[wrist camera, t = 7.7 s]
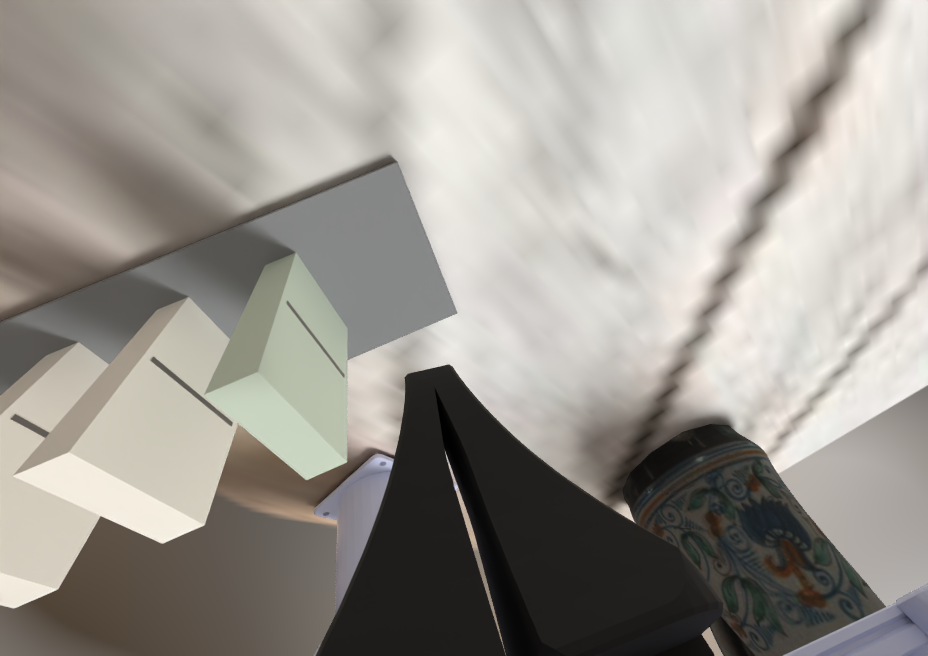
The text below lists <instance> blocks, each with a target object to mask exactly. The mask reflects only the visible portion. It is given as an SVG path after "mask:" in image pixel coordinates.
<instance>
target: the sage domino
mask: <svg viewBox="0 0 928 656" xmlns="http://www.w3.org/2000/svg"><path fill="white" fill-rule="evenodd" d="M347 339H348V328H347V327H346V325H345V324H344V322H343V321H342V320H341V318H340V317H339V315H338V314H337V312H336V311H335V309H334V308H333V306H332V305H331V303H330V302H329V300H328V299H327V297H326V296H325V294H324V293H323V291H322V290H321V288H320V287H319V286H318V284H317V283H316V281H315V280H314V278H313V277H312V275H311V274H310V272H309V271H308V269H307V268H306V266H305V265H304V263H303V262H302V260H301V259H300V257H299V256H298V254H297V253H293V254H291V255H289V256H286V257H284V258H281V259H279V260H277V261H274V262H272V263H269V264H267V265H265V267H264V269H263V271H262V273H261V275H260V277H259V279H258V281H257V284H256V286H255V288H254V290H253V292H252V294H251V296H250V298H249V300H248V303H247V305H246V307H245V309H244V311H243V313H242V315H241V317H240V319H239V322H238V324H237V326H236V328H235V330H234V332H233V334H232V336H231V338H230V341H229V343H228V345H227V347H226V349H225V351H224V353H223V355H222V357H221V360H220V362H219V364H218V366H217V368H216V370H215V372H214V374H213V376H212V379H211V381H210V383H209V385H208V387H207V389H206V391H205V393H204V396H206V397H207V398H208V399H209V400H210V401H212V402H213V403H214V404H215V405H216V406H218V407H219V408H220V409H221V410H223V411H224V412H225V413H226V414H227V415H229V416H230V417H231V418H232V419H233V420H235V421H236V422H237V423H238V424H239V425H241V426H242V427H243V428H244V429H245V430H247V431H248V432H249V433H250V434H251V435H253V436H254V437H255V438H256V439H257V440H259V441H260V442H261V443H262V444H263V445H265V446H266V447H267V448H268V449H269V450H271V451H272V452H273V453H274V454H275V455H277V456H278V457H279V458H280V459H281V460H283V461H284V462H285V463H286V464H287V465H289V466H290V467H291V468H292V469H293V470H295V471H296V472H297V473H298V474H299V475H301V476H302V477H303V478H304V479H306V480H308V479H311V478H313V477H315V476H317V475H320V474H322V473H324V472H326V471H329V470H331V469H333V468H335V467H338V466H340V465H342V464H345V463H347Z"/></svg>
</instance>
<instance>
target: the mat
mask: <svg viewBox="0 0 928 656" xmlns="http://www.w3.org/2000/svg"><path fill="white" fill-rule="evenodd" d="M293 253H297V254H298V256H299V257H300V259H301V260H302V262H303V263H304V265H305V266H306V268H307V269H308V271H309V272H310V274H311V275H312V277H313V278H314V280H315V281H316V283H317V284H318V286H319V287H320V288H321V290H322V291H323V293H324V294H325V296H326V297H327V299H328V300H329V302H330V303H331V305H332V306H333V308H334V309H335V311H336V312H337V314H338V315H339V317H340V318H341V320H342V321H343V322H344V324H345V325H346V327H347V328H348V339H347V360H349V359H351V358H353V357H356V356H358V355H360V354H363V353H365V352H368V351H370V350H372V349H375V348H377V347H379V346H382V345H384V344H386V343H389V342H391V341H393V340H396V339H398V338H400V337H403V336H405V335H407V334H410V333H412V332H414V331H417V330H419V329H422V328H424V327H426V326H429V325H431V324H433V323H436V322H438V321H440V320H443V319H445V318H447V317H450V316H452V315H454V314H457V311H456V308H455V306H454V303H453V301H452V298H451V296H450V293H449V291H448V288H447V286H446V283H445V281H444V278H443V276H442V273H441V271H440V268H439V265H438V263H437V260H436V258H435V255H434V253H433V250H432V248H431V245H430V243H429V240H428V238H427V235H426V233H425V230H424V228H423V225H422V223H421V220H420V218H419V215H418V212H417V210H416V207H415V205H414V202H413V200H412V197H411V195H410V192H409V190H408V187H407V185H406V182H405V180H404V177H403V175H402V172H401V170H400V167H399V165H398V162H397V161H395V162H393V163H390V164H388V165H385V166H383V167H381V168H378V169H376V170H373V171H371V172H368V173H366V174H363V175H361V176H358V177H356V178H353V179H351V180H348V181H346V182H344V183H341V184H339V185H336V186H334V187H331V188H329V189H326V190H324V191H321V192H319V193H316V194H314V195H311V196H309V197H306V198H304V199H302V200H299V201H297V202H294V203H292V204H289V205H287V206H284V207H282V208H279V209H277V210H274V211H272V212H269V213H267V214H265V215H262V216H260V217H257V218H255V219H252V220H250V221H247V222H245V223H242V224H240V225H237V226H235V227H232V228H230V229H228V230H225V231H223V232H220V233H218V234H215V235H213V236H210V237H208V238H205V239H203V240H200V241H198V242H195V243H193V244H190V245H188V246H186V247H183V248H181V249H178V250H176V251H173V252H171V253H168V254H166V255H163V256H161V257H158V258H156V259H153V260H151V261H149V262H146V263H144V264H141V265H139V266H136V267H134V268H131V269H129V270H126V271H124V272H121V273H119V274H116V275H114V276H111V277H109V278H107V279H104V280H102V281H99V282H97V283H94V284H92V285H89V286H87V287H84V288H82V289H79V290H77V291H74V292H72V293H70V294H67V295H65V296H62V297H60V298H57V299H55V300H52V301H50V302H47V303H45V304H42V305H40V306H37V307H35V308H33V309H30V310H28V311H25V312H23V313H20V314H18V315H15V316H13V317H10V318H8V319H5V320H3V321H0V396H1V395H2V394H3V393H4V392H5V391H6V390H7V389H9V388H10V387H11V386H12V385H13V384H14V383H15V382H17V381H18V380H19V379H20V378H21V377H22V376H23V375H24V374H26V373H27V372H28V371H29V370H30V369H31V368H32V367H34V366H35V365H36V364H37V363H38V362H39V361H40V360H42V359H43V358H44V357H45V356H46V355H48V354H51V353H53V352H56V351H58V350H61V349H63V348H65V347H68V346H70V345H73V344H75V343H78V342H79V343H81V344H82V345H83V346H85V347H86V348H87V349H89V350H90V351H91V352H93V353H94V354H95V355H97V356H98V357H99V358H101V359H102V360H104V361H105V362H106V363H108V364H110V363H111V362H112V361H113V360H114V359H115V357H116V356H117V355H118V354H119V353H120V352H121V351H122V349H123V348H124V347H125V346H126V345H127V344H128V343H129V341H130V340H131V339H132V338H133V337H134V336H135V335H136V333H137V332H138V331H139V330H140V329H141V328H142V326H143V325H144V324H145V323H146V322H147V321H148V320H149V318H150V317H151V316H152V315H153V314H154V313H155V312H156V310H158V309H160V308H163V307H165V306H168V305H170V304H172V303H175V302H177V301H180V300H182V299H185V298H187V297H189V298H190V299H191V300H192V301H193V302H194V303H195V304H196V305H197V306H198V307H199V308H200V309H201V310H202V311H203V312H204V313H205V314H206V315H207V316H208V317H209V318H210V319H211V320H212V321H213V322H214V323H215V324H216V326H217V327H218V328H219V329H220V330H221V331H222V332H223V333H224V334H225V335H226V336H227V337H228V338H229V339H230V338H231V336H232V334H233V332H234V330H235V328H236V326H237V324H238V322H239V319H240V317H241V315H242V313H243V311H244V309H245V307H246V305H247V303H248V300H249V298H250V296H251V294H252V292H253V290H254V288H255V286H256V284H257V281H258V279H259V277H260V275H261V273H262V271H263V269H264V267H265V265H267V264H269V263H272V262H274V261H277V260H279V259H281V258H284V257H286V256H289V255H291V254H293Z"/></svg>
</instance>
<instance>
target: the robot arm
mask: <svg viewBox="0 0 928 656" xmlns="http://www.w3.org/2000/svg"><path fill="white" fill-rule="evenodd" d="M445 451H446V454H447V457H448V460H449V463H450V465H451V468H452V471H453V474H454V477H455V479H456V482H457V483H455V482H453V480H452V476H451V473H450V469H449V466H448V462H447V459H446V454H445ZM457 485H458V486H457ZM458 488H459V490H460V493H461V496H462V499H463V501H464V504H465V507H466V510H467V513H468V515H469V518H470V521H471V525H472V528H473V531H474V534H475V538H476V542H477V545H478V549H479V553H480V557H481V560H482V564H483V568H484V572H485V575H486V579H487V583H488V587H489V591H490V595H491V598H492V602H493V606H494V610H495V614H496V617H497V621H498V625H499V629H500V633H501V637H502V641H503V645H504V648H503V645H502V642H501V639H500V636H499V633H498V629H497V626H496V623H495V620H494V616H493V613H492V610H491V607H490V604H489V601H488V597H487V594H486V591H485V587H484V584H483V581H482V578H481V575H480V571H479V568H478V565H477V561H476V558H475V555H474V551H473V548H472V545H471V541H470V538H469V535H468V531H467V528H466V525H465V521H464V518H463V514H462V511H461V508H460V504H459V501H458V497H457V494H456V490H457V489H458ZM314 514H315V515H316V516H320V517H325V518H329V519H333V520H337V562H336V602H335V603H336V605H335V617H334V619H333V622H332V623H331V625H330V627H329V629H328V631H327V633H326V636H325V637H324V640H323V641H322V643H321V644H320V645H319V647H318V649H317V652H315V654H314V655H313V656H714V653H713V652H712V650H711V649H710V647H709V646H708V644H707V642H706V641H705V639H704V638H703V636H702V635H701V634H702V633H703V632H704V631H705V630H706V629H707V628H709V627H710V626H711V625H712V624H713V623H714V622H715V621H716V620H717V619H718V618H719V617H720V616H721V615H722V614H723V602H722V601H721V599H720V598H719V597H718V595H717V594H716V592H715V591H714V590H713V588H712V587H711V586H710V584H709V583H708V582H707V580H706V579H705V578H704V576H703V575H702V574H701V573H700V572H699V570H698V569H697V568H696V567H695V566H694V565H693V564H692V562H691V561H690V560H689V559H688V558H687V557H686V556H685V554H684V553H683V552H682V551H681V550H680V549H679V548H678V547H677V546H675V545H673V544H671V543H670V542H668V541H666V540H664V539H662V538H661V537H659V536H657V535H655V534H653V533H652V532H650V531H648V530H646V529H645V528H643V527H641V526H639V525H638V524H636V523H634V522H633V521H631V520H629V519H628V518H626V517H624V516H623V515H621V514H619V513H618V512H616V511H615V510H613V509H611V508H610V507H608V506H607V505H605V504H603V503H602V502H600V501H599V500H597V499H596V498H594V497H593V496H591V495H590V494H588V493H587V492H585V491H584V490H583V489H581V488H580V487H578V486H577V485H575V484H574V483H572V482H571V481H569V480H568V479H567V478H565V477H564V476H562V475H561V474H560V473H558V472H557V471H556V470H554V469H553V468H552V467H550V466H549V465H548V464H546V463H545V462H544V461H543V460H541V459H540V458H539V457H538V456H536V455H535V454H534V453H533V452H532V451H530V450H529V449H528V448H527V447H526V446H525V445H523V444H522V443H521V442H520V441H519V440H518V439H517V438H515V437H514V436H513V435H512V434H511V433H510V432H509V431H508V430H507V429H506V428H505V427H504V426H503V425H502V424H501V423H500V422H499V421H498V420H497V419H496V418H495V417H494V416H493V415H492V414H491V413H490V412H489V411H488V410H487V409H486V408H485V407H484V406H483V405H482V404H481V402H480V401H479V400H478V399H477V398H476V397H475V396H474V395H473V393H472V392H471V391H470V390H469V388H468V387H467V386H466V385H465V384H464V382H463V381H462V380H461V378H460V377H459V376H458V374H457V373H456V371H455V370H454V368H453V367H452V366H450V365H445V366H440V367H436V368H431V369H427V370H423V371H418V372H414V373H410V374H407V376H406V377H405V403H404V412H403V418H402V424H401V430H400V436H399V441H398V445H397V449H396V453H395V457H394V459H393V458H390V457H387V456H385V455H382V454H375V455H373V456H372V457H371V458H370V459H368V460H367V461H366V462H365V463H364V464H363V465H362V466H361V467H360V468H358V469H357V470H356V471H355V472H354V473H353V474H352V475H351V476H350V477H349V478H347V479H346V480H345V481H344V482H343V483H342V484H341V485H340V486H339V487H337V488H336V489H335V490H334V491H333V492H332V493H331V494H330V495H329V496H328V497H326V498H325V499H324V500H323V501H322V502H321V503H320V504H319V505H318V506H316V507H315V509H314ZM504 649H505V652H504ZM505 653H506V655H505ZM783 656H928V584H926V585H924V586H922V587H920V588H918V589H916V590H914V591H912V592H910V593H908V594H906V595H904V596H903V597H901V598H899V599H898V600H896V603H894V604H892V605H890V606H887V607H885V608H883V609H881V610H879V611H877V612H875V613H873V614H870V615H868V616H866V617H864V618H862V619H860V620H858V621H856V622H853V623H851V624H849V625H847V626H845V627H843V628H841V629H839V630H836V631H834V632H832V633H830V634H828V635H826V636H824V637H822V638H819V639H817V640H815V641H813V642H811V643H809V644H807V645H804V646H802V647H800V648H798V649H796V650H794V651H792V652H790V653H787V654H785V655H783Z"/></svg>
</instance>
